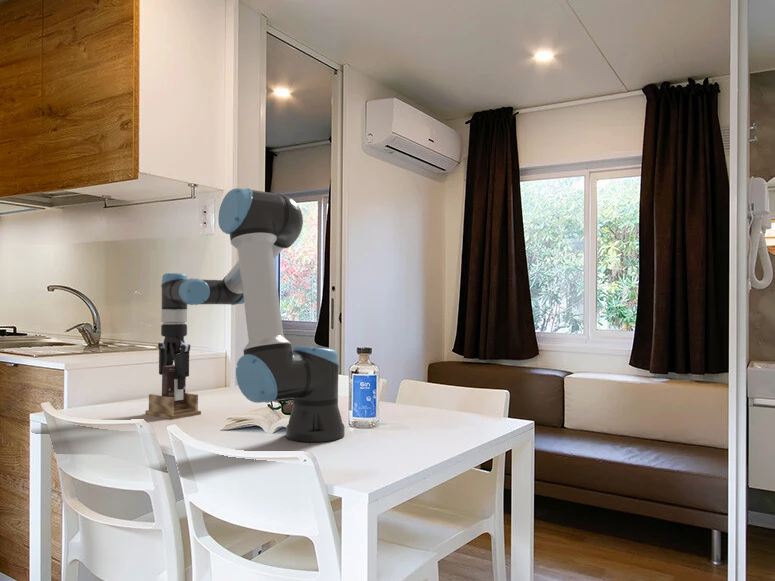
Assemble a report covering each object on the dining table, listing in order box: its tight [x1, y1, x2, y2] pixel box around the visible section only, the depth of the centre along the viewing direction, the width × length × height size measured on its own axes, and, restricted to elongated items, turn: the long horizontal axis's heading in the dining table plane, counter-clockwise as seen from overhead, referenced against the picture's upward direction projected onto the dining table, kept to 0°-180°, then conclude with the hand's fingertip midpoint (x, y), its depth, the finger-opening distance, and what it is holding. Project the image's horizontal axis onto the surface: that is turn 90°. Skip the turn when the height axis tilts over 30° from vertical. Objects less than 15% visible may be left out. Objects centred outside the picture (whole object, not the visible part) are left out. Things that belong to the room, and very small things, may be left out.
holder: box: [145, 392, 202, 420], centre depth 184 cm, size 14×10×6 cm
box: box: [161, 364, 187, 405], centre depth 184 cm, size 6×4×12 cm
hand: (173, 399), depth 184 cm, fingers closed on box, 5 cm apart
